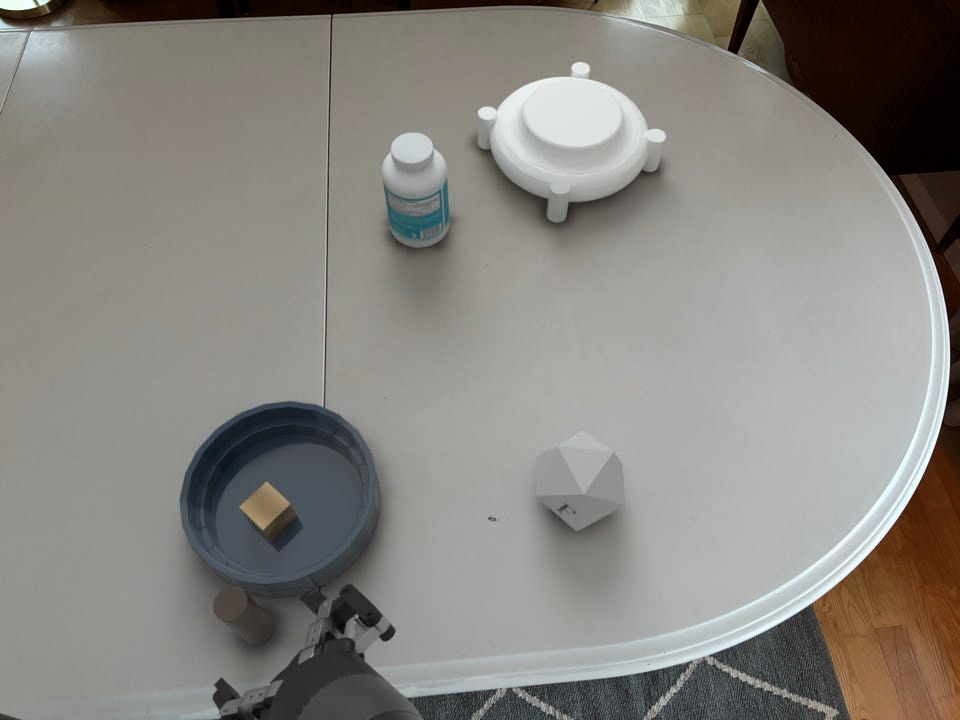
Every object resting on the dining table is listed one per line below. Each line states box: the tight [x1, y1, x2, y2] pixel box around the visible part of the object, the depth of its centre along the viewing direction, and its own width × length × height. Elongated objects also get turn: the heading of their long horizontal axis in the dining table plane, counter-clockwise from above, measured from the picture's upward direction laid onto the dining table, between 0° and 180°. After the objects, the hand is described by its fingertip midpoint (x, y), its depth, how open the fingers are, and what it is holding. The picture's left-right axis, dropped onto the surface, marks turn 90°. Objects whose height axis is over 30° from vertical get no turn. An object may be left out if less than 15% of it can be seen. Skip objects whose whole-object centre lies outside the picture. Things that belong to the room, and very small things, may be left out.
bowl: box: [179, 400, 382, 598], centre depth 78 cm, size 18×19×5 cm
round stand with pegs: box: [477, 61, 667, 224], centre depth 102 cm, size 24×24×7 cm
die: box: [534, 430, 626, 532], centre depth 77 cm, size 8×9×10 cm
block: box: [239, 482, 297, 541], centre depth 77 cm, size 4×4×4 cm
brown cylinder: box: [212, 586, 275, 646], centre depth 69 cm, size 3×3×10 cm
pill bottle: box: [381, 132, 450, 249], centre depth 92 cm, size 8×7×14 cm
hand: (268, 644), depth 62 cm, fingers open, 8 cm apart
